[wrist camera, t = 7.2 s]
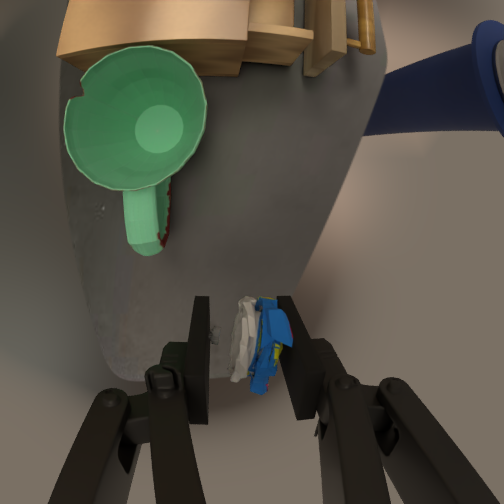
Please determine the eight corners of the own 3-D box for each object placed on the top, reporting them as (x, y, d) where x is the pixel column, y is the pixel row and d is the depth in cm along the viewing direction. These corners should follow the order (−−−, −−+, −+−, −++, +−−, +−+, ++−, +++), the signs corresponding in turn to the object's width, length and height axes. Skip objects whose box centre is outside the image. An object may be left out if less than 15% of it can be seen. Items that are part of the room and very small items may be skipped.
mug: (109, 89, 24) (63, 63, 14) (209, 74, 25) (205, 35, 15) (121, 234, 28) (81, 269, 19) (218, 225, 29) (218, 258, 20)
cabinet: (246, -22, 21) (257, -75, 12) (238, 77, 25) (247, 40, 16) (119, -16, 20) (93, -61, 11) (100, 82, 23) (55, 56, 14)
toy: (261, 354, 18) (271, 414, 13) (204, 346, 17) (198, 405, 13) (282, 281, 16) (301, 330, 12) (218, 270, 16) (213, 317, 11)
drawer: (352, -4, 22) (384, -35, 15) (354, 85, 25) (395, 67, 18) (194, -24, 20) (189, -67, 13) (181, 67, 23) (168, 37, 16)
